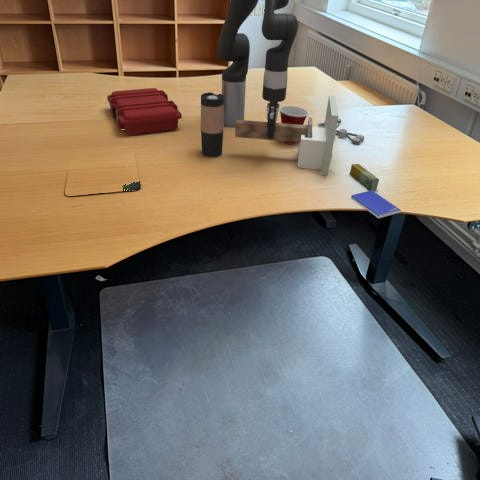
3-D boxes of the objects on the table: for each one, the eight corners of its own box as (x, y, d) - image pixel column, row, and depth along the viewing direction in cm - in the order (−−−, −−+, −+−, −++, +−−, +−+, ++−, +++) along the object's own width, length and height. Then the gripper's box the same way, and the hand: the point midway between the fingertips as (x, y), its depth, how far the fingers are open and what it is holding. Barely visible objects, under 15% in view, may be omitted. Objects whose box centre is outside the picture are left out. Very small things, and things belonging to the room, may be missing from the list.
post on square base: (234, 139, 147) (234, 119, 143) (236, 131, 153) (237, 111, 149) (309, 145, 145) (312, 125, 141) (309, 137, 151) (312, 117, 147)
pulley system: (331, 149, 163) (368, 144, 166) (332, 137, 160) (370, 132, 163) (303, 125, 185) (336, 121, 188) (304, 114, 182) (337, 110, 185)
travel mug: (206, 159, 150) (206, 100, 138) (197, 150, 155) (196, 93, 144) (226, 155, 153) (228, 98, 141) (217, 147, 158) (218, 91, 147)
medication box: (376, 191, 137) (380, 179, 135) (369, 192, 136) (372, 180, 134) (355, 174, 146) (358, 162, 144) (348, 174, 145) (351, 163, 143)
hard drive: (401, 209, 126) (372, 189, 135) (379, 215, 123) (351, 194, 132) (399, 213, 127) (371, 194, 136) (378, 219, 124) (350, 199, 133)
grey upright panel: (297, 172, 144) (305, 113, 133) (298, 148, 161) (305, 92, 149) (327, 175, 144) (338, 115, 132) (325, 150, 160) (335, 95, 148)
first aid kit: (184, 131, 170) (183, 109, 165) (123, 139, 162) (120, 116, 157) (161, 104, 193) (160, 84, 188) (107, 110, 185) (104, 89, 180)
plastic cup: (307, 147, 162) (312, 115, 155) (278, 146, 161) (281, 114, 154) (302, 135, 170) (306, 104, 163) (274, 135, 170) (277, 104, 163)
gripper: (264, 77, 145) (261, 127, 155) (261, 89, 133) (257, 143, 143) (287, 78, 144) (282, 129, 154) (286, 91, 133) (280, 145, 143)
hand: (270, 135), depth 149 cm, fingers closed on post on square base, 3 cm apart
